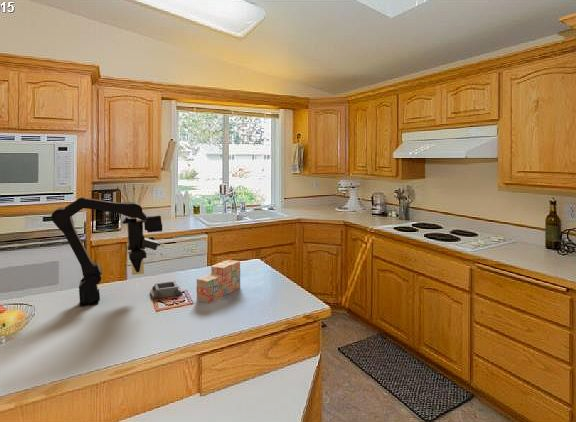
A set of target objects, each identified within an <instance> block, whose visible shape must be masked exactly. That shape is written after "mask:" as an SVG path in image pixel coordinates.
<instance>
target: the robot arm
mask: <svg viewBox="0 0 576 422" xmlns="http://www.w3.org/2000/svg"><path fill="white" fill-rule="evenodd" d="M83 209H86V210H87V209H89V210H94V211H95V210H96V211H103V212H110V213H116V214H119V215H123V216H124V217H125V218H124V219H123V220H122V221H121V222H122V224H127V240H128V244H127V245H126V246H127V251H128V252H127V254H128V259H129V260H130V264H131V263H132V264H133V266H134V268H135V270H136V272H139V271H140V266H141V261H142V260H143V261H144V259H147V251H146V249H150V250H153V251H156V250H157V248H158V245H159V241H157V240H156V239H155V237H154V236H151V235H150V236H149V237H145V235H144V231H146V232H147V233H159V232H163V223H162V215H159V214H157V215H151V216H150V215H149V216H147V214H146V213H145V212H143V207H142V205H140V204H139V202H136V201H135V202H134V201H127V202H126V201H125V202H124V201H122V202H116V201H108V200H102V199H96V198H95V199H94V198H89V197H85V196H80V197H78V198H77V199H76V200H74V201H73V202H70V203H69V204H67V205H66V206H65V207H63V206H62V207H61V206H60V207H57V208H56V209H55V210H54V211H53V212H52V214H51V216H50V217H51V218H50V219H51V221H52V222H53V223H54V225H55V226H56V227H57V228H58V229H59V231H61V233H62V234H64V237H65V238H66V240H67V242H68V244H69V246H70V247H71V249H72V252H73V253H74V256H75V258H76V259H77V262H78V263H79V265H80V268H81V271H82V276H83V277H82V278H81V279H80V282H79V286H78V295H79V307H86V306H93V305H98V304H99V302H100V300H101V297H100V296H101V294H100V293H101V292H100V289H99V288H98V284H100V282H101V281H102V275H103V268H101V266H100V263H99V261H96V262H94V261H93V259H91V256H90V255H89V253H88V251H87V249H86V246H85V245H84V244H83V242H82V240H81V237H80V235H79V234H78V232H77V230H76V228H75V223H74V218H73V216H74V215H76V214H77V213H78V212H80V211H81V210H83ZM128 217H129V218H128ZM143 224H144V225H143Z"/></svg>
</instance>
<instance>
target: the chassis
mask: <svg viewBox="0 0 576 422" xmlns="http://www.w3.org/2000/svg"><path fill="white" fill-rule="evenodd" d="M150 295H151V299H153V300H154V299H156V300H159V299H160V298H161V297H162V298H167V297H175V296H176V297H179V296H181V295H183V289H182V288H181V286H180V285H178V283H177V282H176V280H172V281H163V282H157V283H154V285H153V286H152V288H151V289H150Z"/></svg>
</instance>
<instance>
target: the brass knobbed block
mask: <svg viewBox="0 0 576 422" xmlns="http://www.w3.org/2000/svg"><path fill="white" fill-rule="evenodd" d="M144 266H145V264H144V259H143V260H142V261H141V266H140V271H139V272H136V270H135V268H134V266H133V264H132V263H131V262H130V267H131V270H130V271H131V275H132V276H137V275H144V274H145V268H144Z"/></svg>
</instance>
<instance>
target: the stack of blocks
mask: <svg viewBox="0 0 576 422" xmlns="http://www.w3.org/2000/svg"><path fill="white" fill-rule="evenodd" d="M210 268H211V271H210V273H208V274H205V275H202V276H201V277H198V278H196V301H199V302H203V303H205V304H209V303H212V302H213V301H215V300H218V299H219V298H222V297H224V296H225V295H228V294H230V293H232V292H233V291H236V290H238V289H240V288H241V261H240V260H233V259H226V260H223V261H221V262H217V263H216V264H214V265H210Z"/></svg>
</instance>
